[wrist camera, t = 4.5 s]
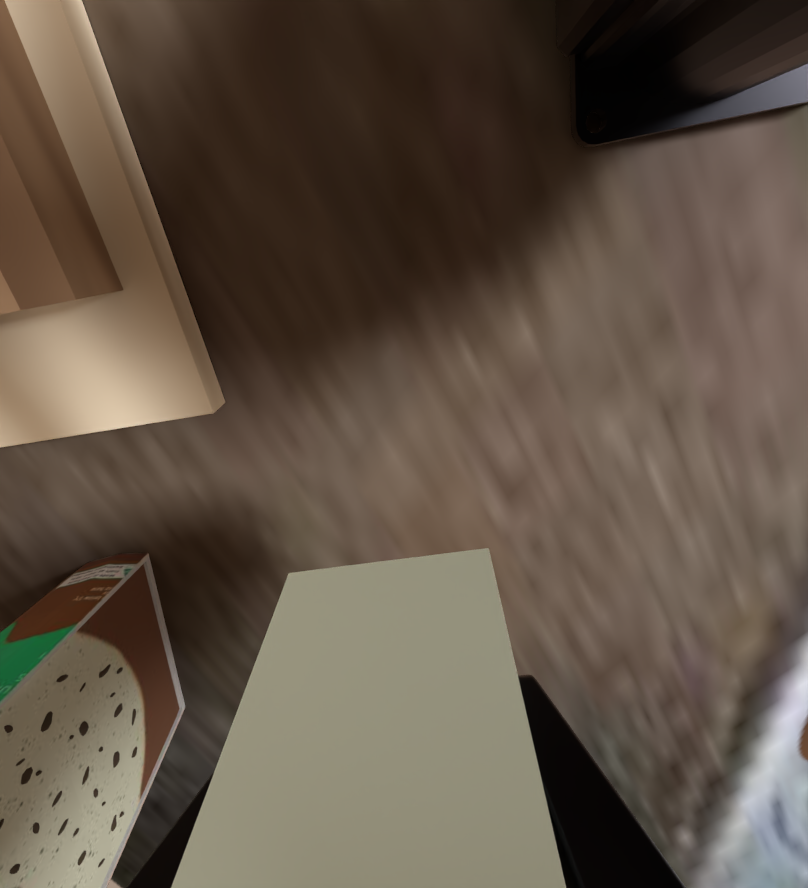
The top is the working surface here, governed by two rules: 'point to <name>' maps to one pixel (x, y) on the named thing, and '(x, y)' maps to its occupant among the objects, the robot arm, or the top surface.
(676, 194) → the top surface
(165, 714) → the food container
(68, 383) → the post base
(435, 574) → the pale green block
